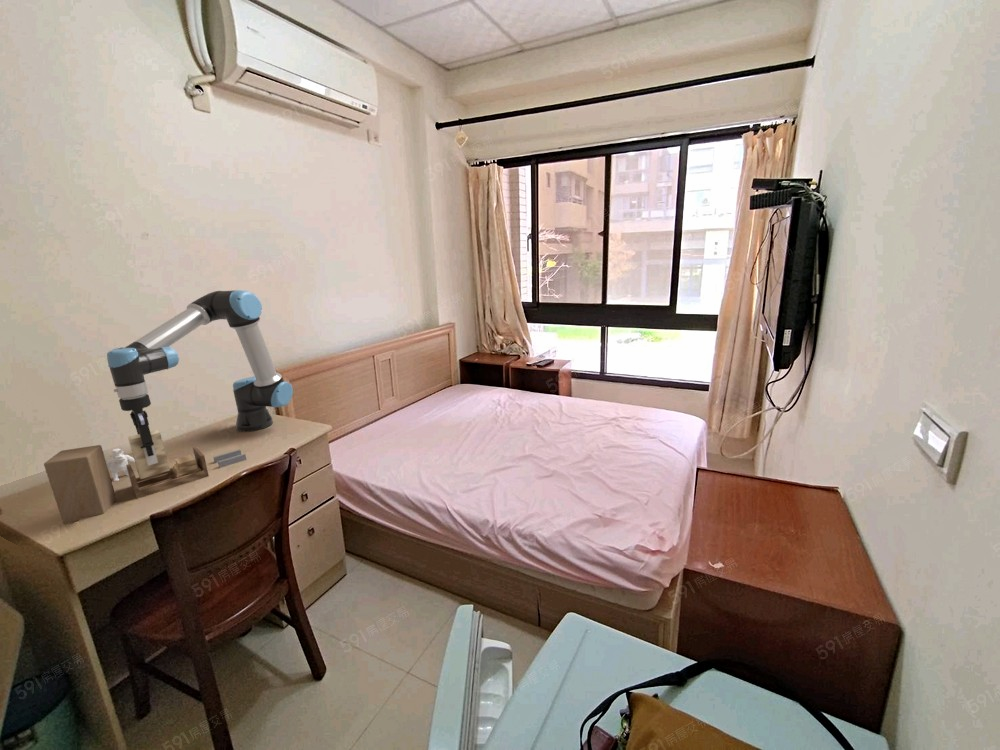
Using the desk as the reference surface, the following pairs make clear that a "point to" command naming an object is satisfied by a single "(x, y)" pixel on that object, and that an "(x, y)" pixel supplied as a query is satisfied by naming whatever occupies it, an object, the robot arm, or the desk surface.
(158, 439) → the tan wood slab
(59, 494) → the wooden block
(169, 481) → the rack
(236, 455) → the holder
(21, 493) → the desk surface
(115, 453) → the figurine
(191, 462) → the offcut stack
